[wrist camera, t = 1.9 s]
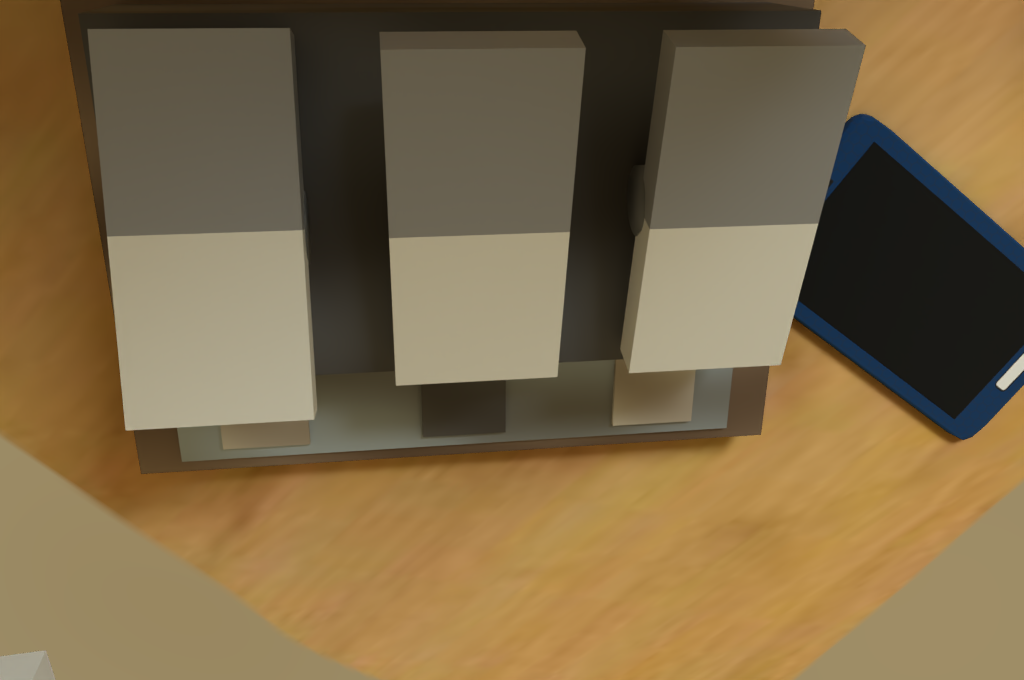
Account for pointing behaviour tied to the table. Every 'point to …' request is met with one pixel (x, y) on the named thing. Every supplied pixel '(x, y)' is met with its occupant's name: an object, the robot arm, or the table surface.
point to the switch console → (365, 237)
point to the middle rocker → (479, 199)
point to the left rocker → (205, 224)
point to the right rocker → (732, 192)
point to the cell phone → (915, 282)
